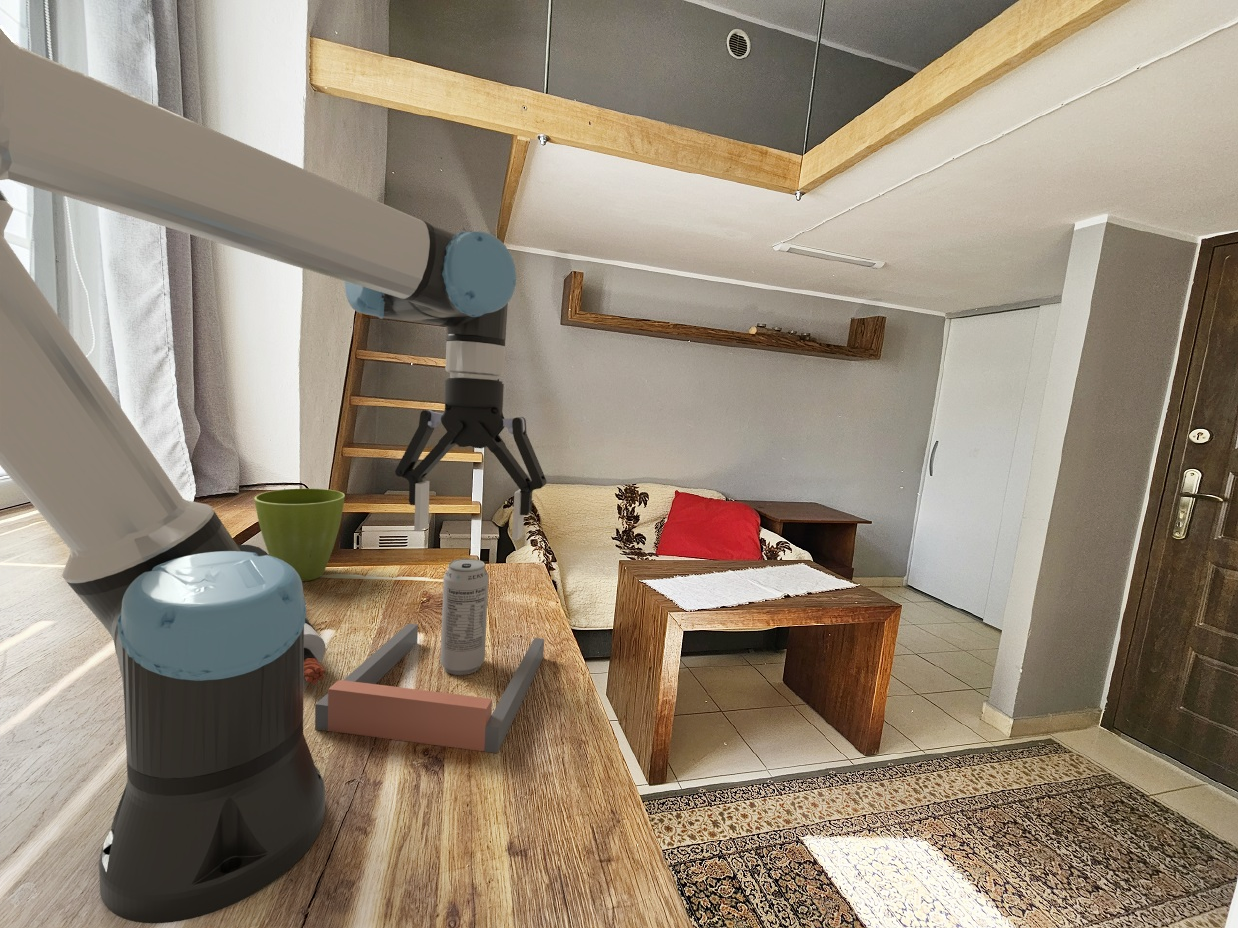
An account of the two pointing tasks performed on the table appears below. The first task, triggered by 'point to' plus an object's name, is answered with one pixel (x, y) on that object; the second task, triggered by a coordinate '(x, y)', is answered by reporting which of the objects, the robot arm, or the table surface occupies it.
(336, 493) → the flower pot
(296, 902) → the table surface
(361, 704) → the guide lane
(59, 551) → the table surface
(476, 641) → the energy drink can
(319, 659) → the cable
